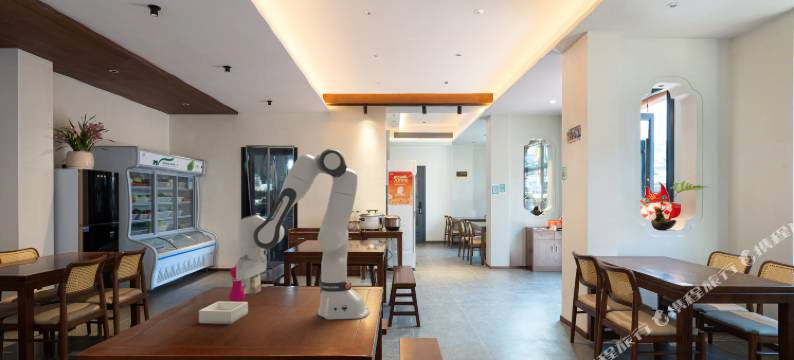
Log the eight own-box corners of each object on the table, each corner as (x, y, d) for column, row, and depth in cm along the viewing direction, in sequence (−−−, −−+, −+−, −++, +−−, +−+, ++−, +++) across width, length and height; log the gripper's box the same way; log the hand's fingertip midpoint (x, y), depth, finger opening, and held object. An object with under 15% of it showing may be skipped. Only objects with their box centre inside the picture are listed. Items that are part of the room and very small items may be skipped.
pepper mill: (248, 303, 194) (248, 261, 195) (240, 308, 187) (240, 264, 187) (233, 303, 195) (233, 261, 195) (226, 307, 188) (225, 264, 188)
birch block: (260, 290, 174) (260, 276, 174) (255, 293, 169) (254, 279, 169) (249, 290, 174) (249, 276, 174) (244, 293, 169) (243, 279, 169)
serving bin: (247, 313, 179) (247, 302, 179) (231, 323, 165) (231, 311, 165) (218, 312, 180) (218, 301, 180) (198, 322, 166) (198, 310, 167)
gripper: (246, 257, 161) (247, 292, 161) (268, 249, 181) (270, 280, 181) (231, 257, 162) (232, 292, 162) (255, 250, 182) (256, 281, 182)
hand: (252, 286), depth 171 cm, fingers closed on birch block, 5 cm apart
